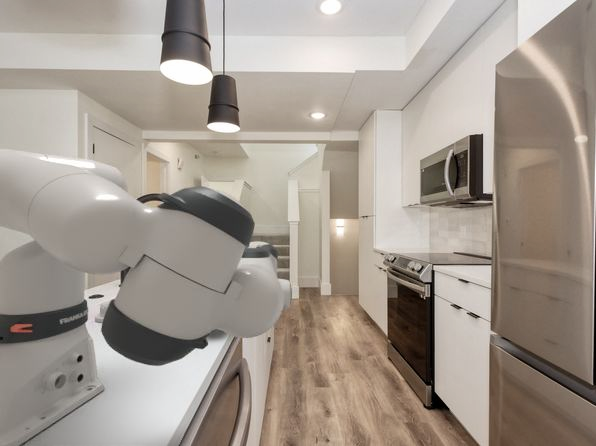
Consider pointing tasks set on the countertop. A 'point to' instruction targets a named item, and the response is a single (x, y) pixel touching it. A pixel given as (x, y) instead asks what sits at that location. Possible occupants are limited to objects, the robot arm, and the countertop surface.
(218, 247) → the robot arm
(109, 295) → the countertop surface
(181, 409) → the countertop surface
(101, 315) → the mechanical component
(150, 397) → the countertop surface
